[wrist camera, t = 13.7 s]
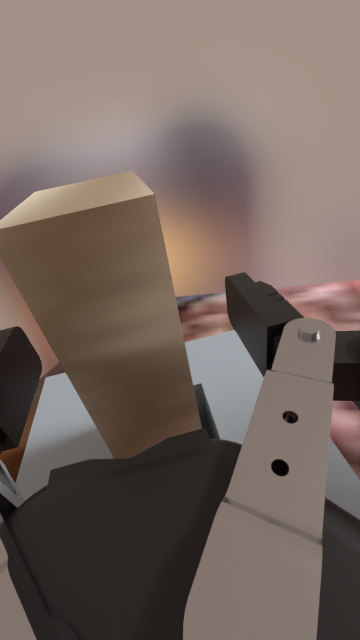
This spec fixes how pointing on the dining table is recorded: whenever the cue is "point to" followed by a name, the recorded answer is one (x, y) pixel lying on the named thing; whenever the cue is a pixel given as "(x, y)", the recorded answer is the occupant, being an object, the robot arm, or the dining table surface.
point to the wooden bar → (106, 305)
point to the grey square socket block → (213, 405)
